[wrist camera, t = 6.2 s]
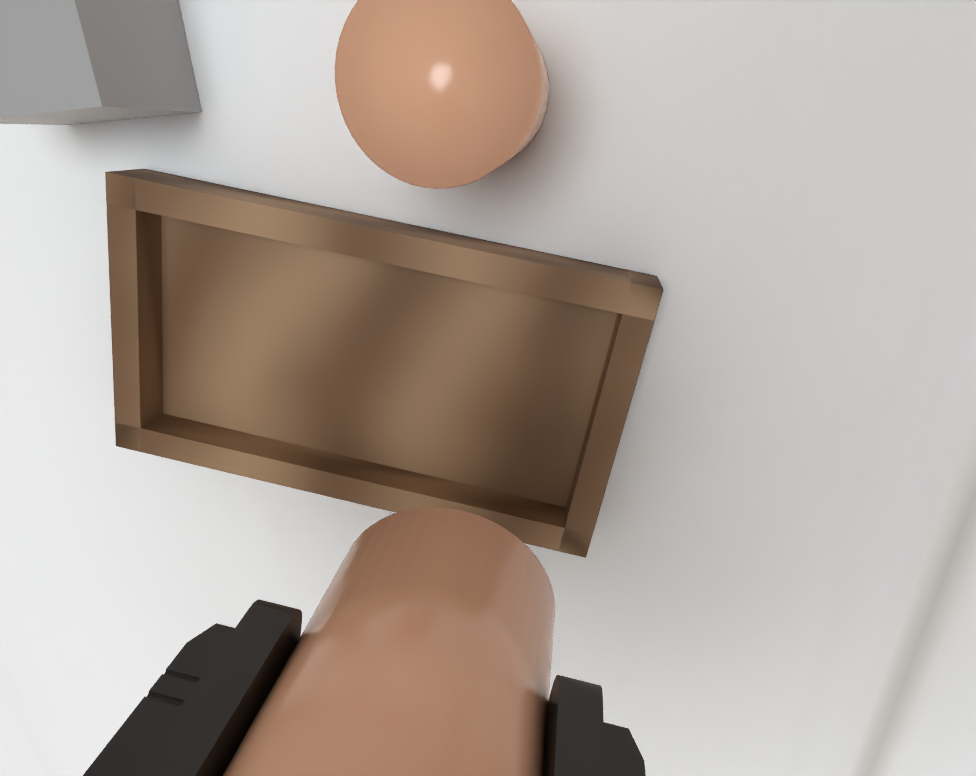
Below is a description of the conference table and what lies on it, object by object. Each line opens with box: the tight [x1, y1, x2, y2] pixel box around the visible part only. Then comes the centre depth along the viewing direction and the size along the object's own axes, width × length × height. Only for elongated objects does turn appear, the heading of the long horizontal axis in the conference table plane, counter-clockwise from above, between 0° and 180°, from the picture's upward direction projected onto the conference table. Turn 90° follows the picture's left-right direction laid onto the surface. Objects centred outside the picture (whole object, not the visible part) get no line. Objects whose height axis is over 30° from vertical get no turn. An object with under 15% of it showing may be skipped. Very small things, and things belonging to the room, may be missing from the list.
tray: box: [105, 169, 663, 557], centre depth 23 cm, size 18×10×2 cm, turn 79°
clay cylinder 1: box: [335, 0, 549, 189], centre depth 17 cm, size 4×4×7 cm
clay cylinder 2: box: [223, 507, 555, 776], centre depth 10 cm, size 4×4×7 cm
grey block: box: [0, 0, 202, 125], centre depth 19 cm, size 5×5×5 cm
